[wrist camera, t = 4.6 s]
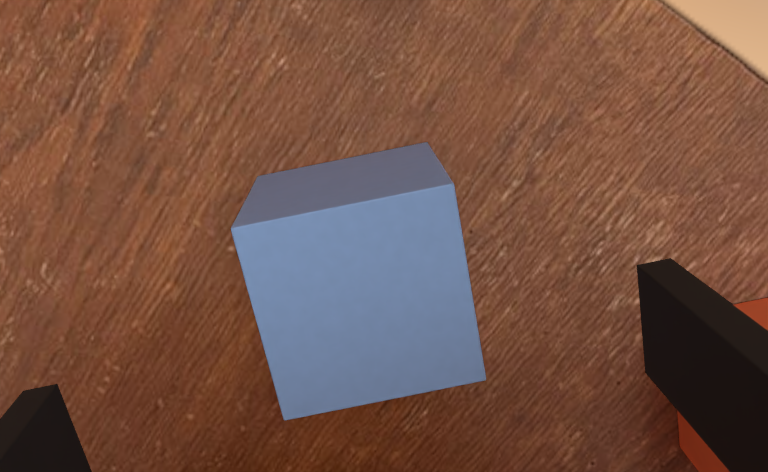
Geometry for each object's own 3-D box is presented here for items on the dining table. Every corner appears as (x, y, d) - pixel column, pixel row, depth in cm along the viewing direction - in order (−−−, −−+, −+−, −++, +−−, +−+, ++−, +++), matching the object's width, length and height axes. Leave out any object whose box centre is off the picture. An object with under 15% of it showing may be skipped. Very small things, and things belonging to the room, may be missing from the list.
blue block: (427, 141, 24) (453, 182, 18) (455, 298, 26) (486, 380, 20) (257, 175, 24) (230, 228, 18) (296, 330, 26) (283, 421, 20)
